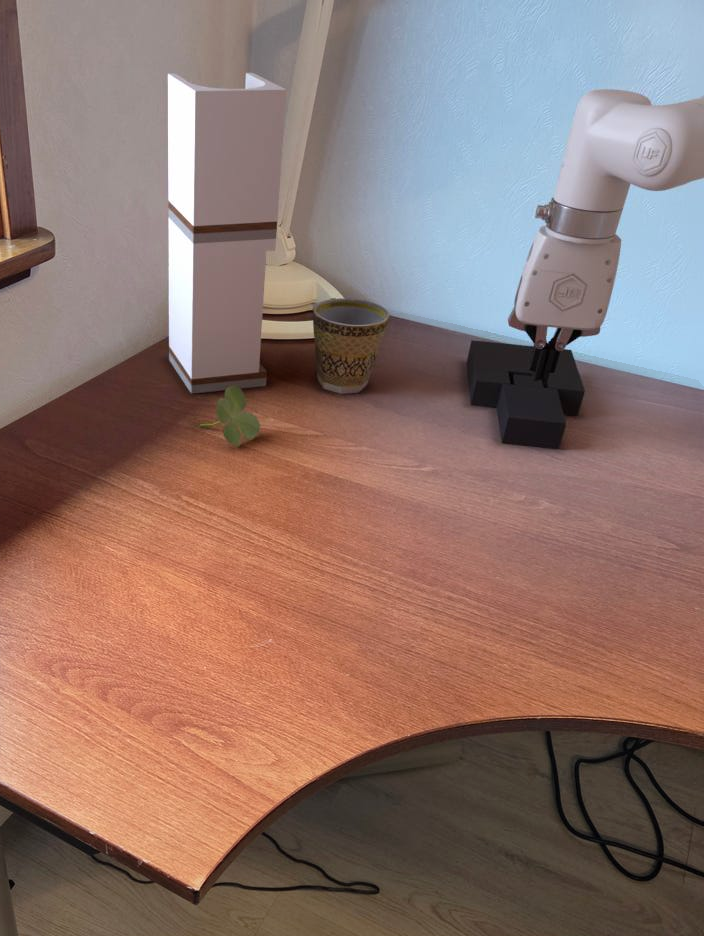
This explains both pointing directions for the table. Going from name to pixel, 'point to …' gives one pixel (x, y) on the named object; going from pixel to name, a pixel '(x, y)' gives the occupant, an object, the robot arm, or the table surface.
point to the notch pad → (502, 361)
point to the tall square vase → (221, 227)
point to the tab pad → (530, 413)
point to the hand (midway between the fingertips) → (539, 376)
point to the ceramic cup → (347, 342)
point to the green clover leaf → (235, 417)
